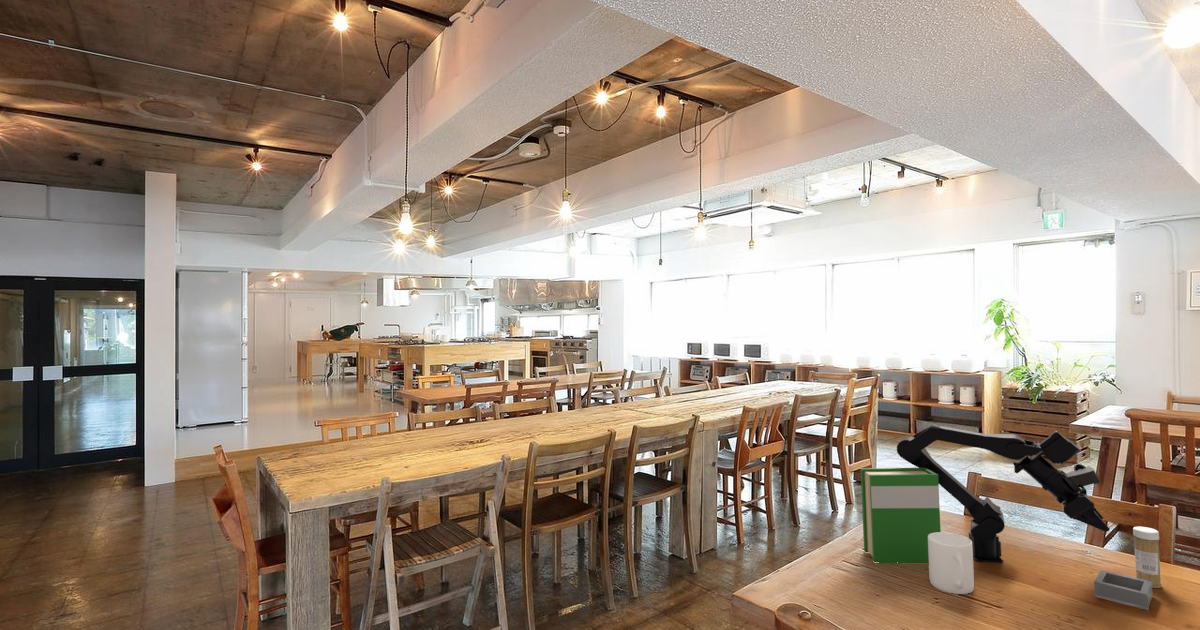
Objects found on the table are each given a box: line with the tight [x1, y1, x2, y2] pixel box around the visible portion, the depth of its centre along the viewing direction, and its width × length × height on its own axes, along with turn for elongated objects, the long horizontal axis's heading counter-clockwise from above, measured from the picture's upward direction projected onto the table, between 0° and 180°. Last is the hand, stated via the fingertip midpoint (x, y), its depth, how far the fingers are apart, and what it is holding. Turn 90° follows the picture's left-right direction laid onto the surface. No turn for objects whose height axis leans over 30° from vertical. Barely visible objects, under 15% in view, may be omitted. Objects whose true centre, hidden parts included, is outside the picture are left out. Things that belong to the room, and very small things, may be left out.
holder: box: [1093, 569, 1154, 611], centre depth 133 cm, size 9×9×4 cm
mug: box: [928, 531, 975, 595], centre depth 140 cm, size 10×12×12 cm
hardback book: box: [860, 467, 942, 564], centre depth 159 cm, size 18×7×24 cm, turn 85°
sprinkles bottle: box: [1132, 526, 1162, 589], centre depth 139 cm, size 5×5×13 cm
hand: (1104, 524), depth 143 cm, fingers open, 9 cm apart
